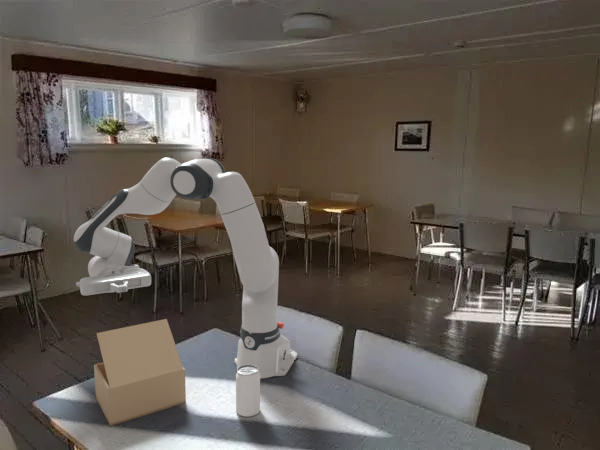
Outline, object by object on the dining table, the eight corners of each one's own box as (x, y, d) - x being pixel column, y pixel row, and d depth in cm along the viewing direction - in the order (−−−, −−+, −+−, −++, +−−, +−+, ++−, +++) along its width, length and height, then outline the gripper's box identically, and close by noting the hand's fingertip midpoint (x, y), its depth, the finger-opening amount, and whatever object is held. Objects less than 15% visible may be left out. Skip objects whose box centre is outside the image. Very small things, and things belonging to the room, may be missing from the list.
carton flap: (96, 333, 126) (96, 333, 126) (166, 319, 137) (166, 318, 136) (110, 389, 118) (110, 388, 118) (183, 369, 129) (183, 369, 128)
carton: (95, 397, 132) (93, 364, 131) (165, 378, 144) (164, 347, 142) (110, 426, 119) (108, 390, 118) (185, 402, 131) (184, 369, 129)
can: (256, 419, 124) (256, 377, 122) (232, 416, 125) (232, 374, 123) (262, 406, 130) (263, 365, 128) (240, 402, 131) (240, 362, 129)
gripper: (73, 272, 142) (83, 284, 130) (142, 263, 153) (156, 274, 142) (75, 292, 143) (84, 306, 132) (143, 282, 154) (157, 294, 143)
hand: (122, 289), depth 137 cm, fingers closed
